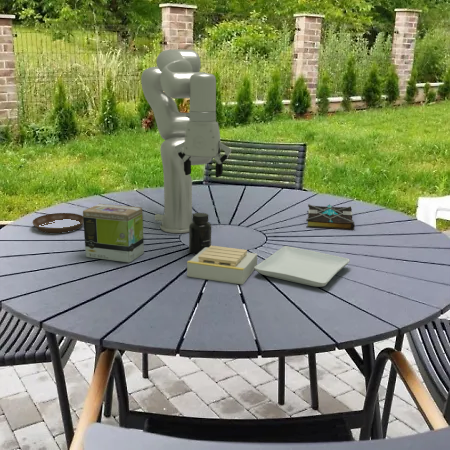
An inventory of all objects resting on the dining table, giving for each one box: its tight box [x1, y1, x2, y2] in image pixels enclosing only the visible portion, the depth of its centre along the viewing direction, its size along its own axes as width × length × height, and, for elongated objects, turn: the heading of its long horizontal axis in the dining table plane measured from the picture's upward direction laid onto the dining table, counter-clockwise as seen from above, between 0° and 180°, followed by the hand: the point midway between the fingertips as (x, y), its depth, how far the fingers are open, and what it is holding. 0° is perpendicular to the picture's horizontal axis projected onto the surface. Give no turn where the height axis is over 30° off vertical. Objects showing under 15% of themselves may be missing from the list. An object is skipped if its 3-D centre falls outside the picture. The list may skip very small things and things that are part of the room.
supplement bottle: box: [188, 212, 212, 256], centre depth 176 cm, size 7×7×12 cm
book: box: [305, 203, 355, 231], centre depth 212 cm, size 22×17×5 cm
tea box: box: [82, 203, 145, 264], centre depth 172 cm, size 15×10×15 cm, turn 71°
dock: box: [186, 244, 258, 285], centre depth 162 cm, size 16×14×6 cm
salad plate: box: [254, 245, 350, 288], centre depth 163 cm, size 21×21×3 cm
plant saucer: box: [32, 212, 84, 234], centre depth 200 cm, size 18×18×3 cm
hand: (203, 175), depth 172 cm, fingers open, 9 cm apart
